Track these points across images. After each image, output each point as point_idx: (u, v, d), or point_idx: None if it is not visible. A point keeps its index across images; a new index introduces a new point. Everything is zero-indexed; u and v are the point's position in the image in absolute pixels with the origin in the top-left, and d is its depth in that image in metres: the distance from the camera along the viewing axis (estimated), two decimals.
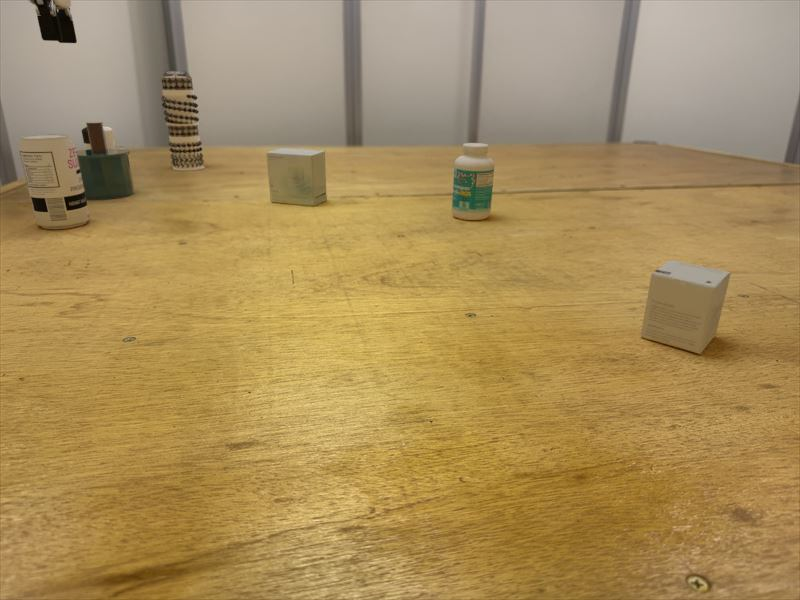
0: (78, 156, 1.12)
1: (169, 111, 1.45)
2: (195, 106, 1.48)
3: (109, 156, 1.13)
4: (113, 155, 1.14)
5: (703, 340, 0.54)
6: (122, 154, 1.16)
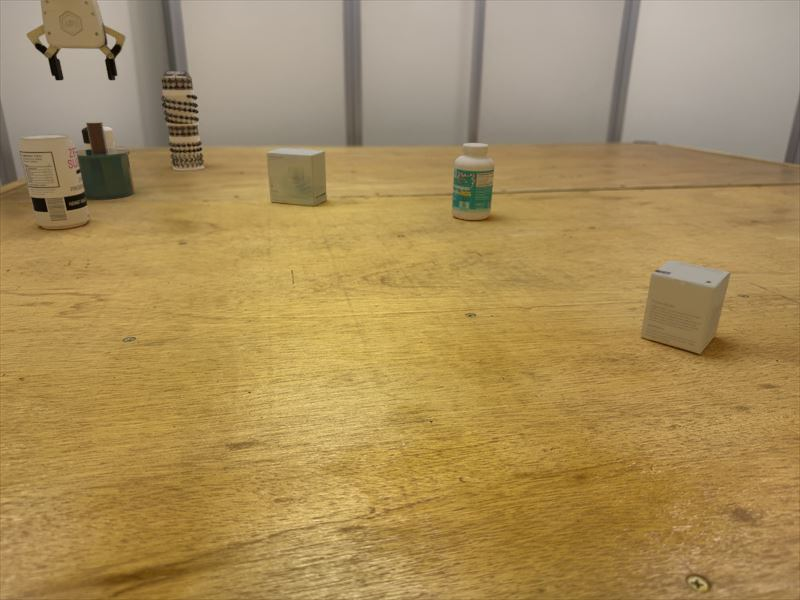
0: (78, 156, 1.12)
1: (169, 111, 1.45)
2: (195, 106, 1.48)
3: (109, 156, 1.13)
4: (113, 155, 1.14)
5: (703, 340, 0.54)
6: (122, 154, 1.16)
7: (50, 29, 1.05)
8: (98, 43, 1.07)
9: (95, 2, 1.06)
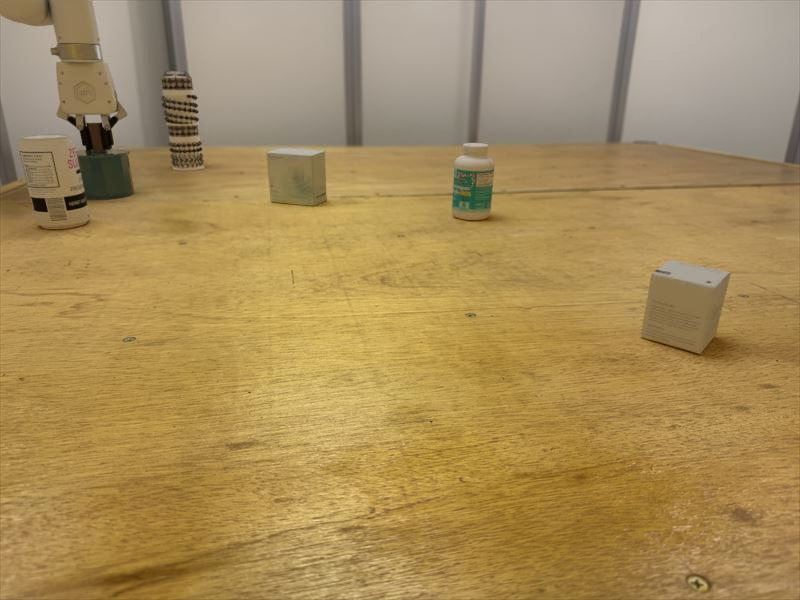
0: (78, 156, 1.12)
1: (169, 111, 1.45)
2: (195, 106, 1.48)
3: (109, 156, 1.13)
4: (113, 155, 1.14)
5: (703, 340, 0.54)
6: (122, 154, 1.16)
7: (65, 98, 1.10)
8: (110, 110, 1.12)
9: (108, 72, 1.11)
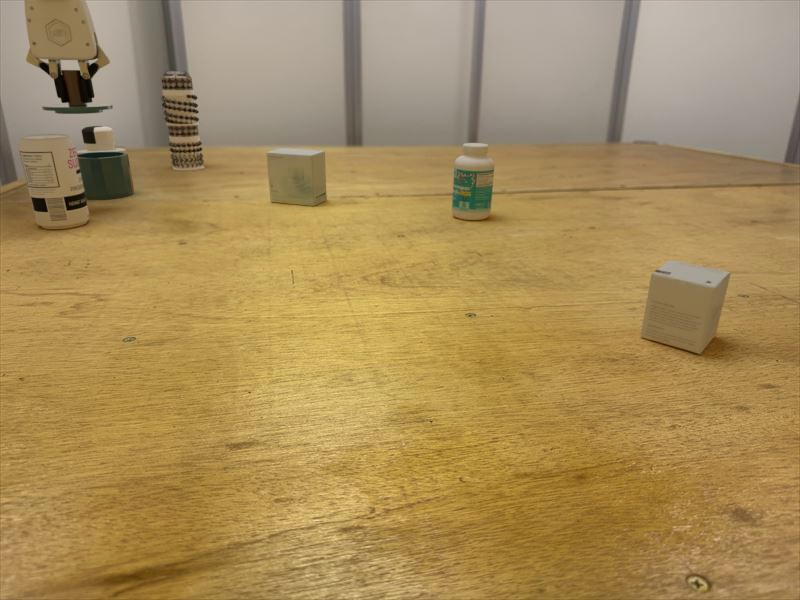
0: (52, 108, 0.96)
1: (169, 111, 1.45)
2: (195, 106, 1.48)
3: (88, 109, 0.97)
4: (93, 108, 0.98)
5: (703, 340, 0.54)
6: (104, 107, 1.00)
7: (35, 39, 0.94)
8: (89, 54, 0.96)
9: (86, 9, 0.95)
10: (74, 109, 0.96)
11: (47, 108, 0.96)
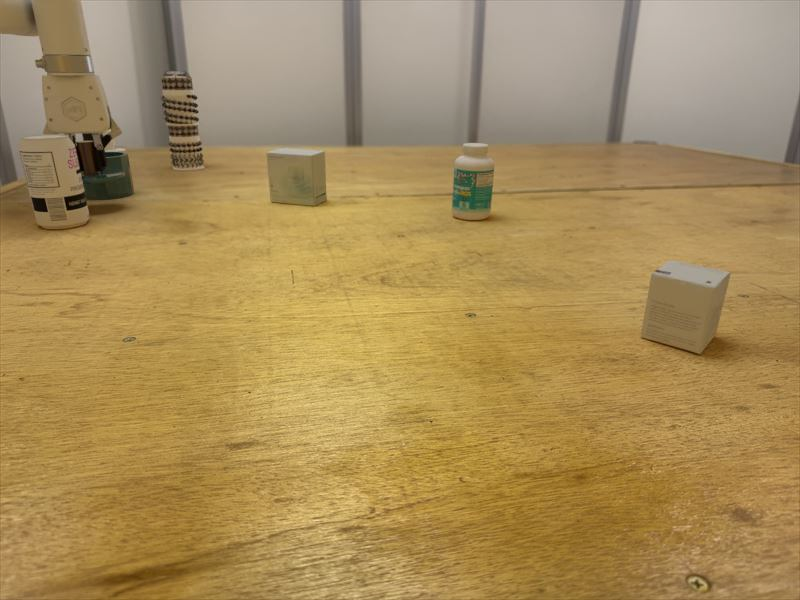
0: None
1: (169, 111, 1.45)
2: (195, 106, 1.48)
3: (102, 179, 1.02)
4: (106, 178, 1.03)
5: (703, 340, 0.54)
6: (116, 176, 1.04)
7: (52, 115, 0.98)
8: (103, 128, 1.01)
9: (100, 86, 1.00)
10: (88, 180, 1.01)
11: None
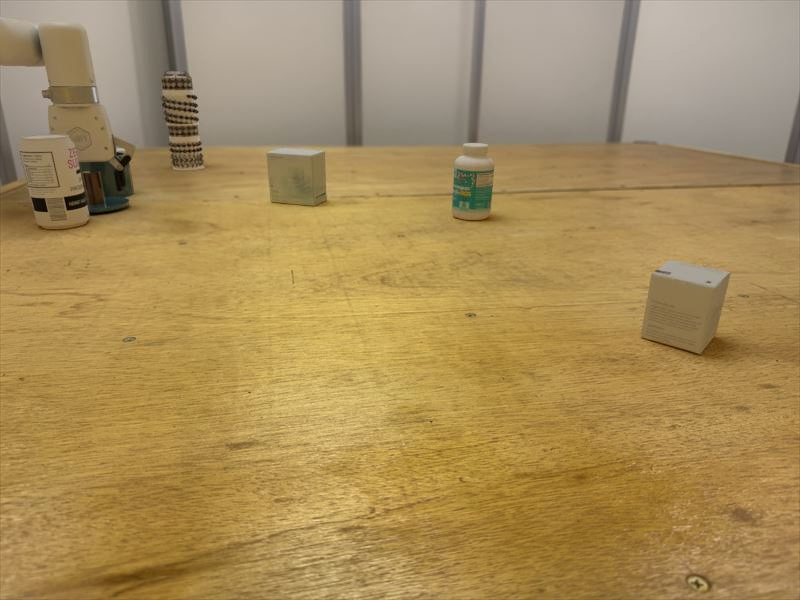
0: None
1: (169, 111, 1.45)
2: (195, 106, 1.48)
3: (107, 209, 1.04)
4: (112, 208, 1.05)
5: (703, 340, 0.54)
6: (121, 206, 1.07)
7: None
8: (107, 157, 1.03)
9: (105, 116, 1.02)
10: (94, 210, 1.03)
11: None
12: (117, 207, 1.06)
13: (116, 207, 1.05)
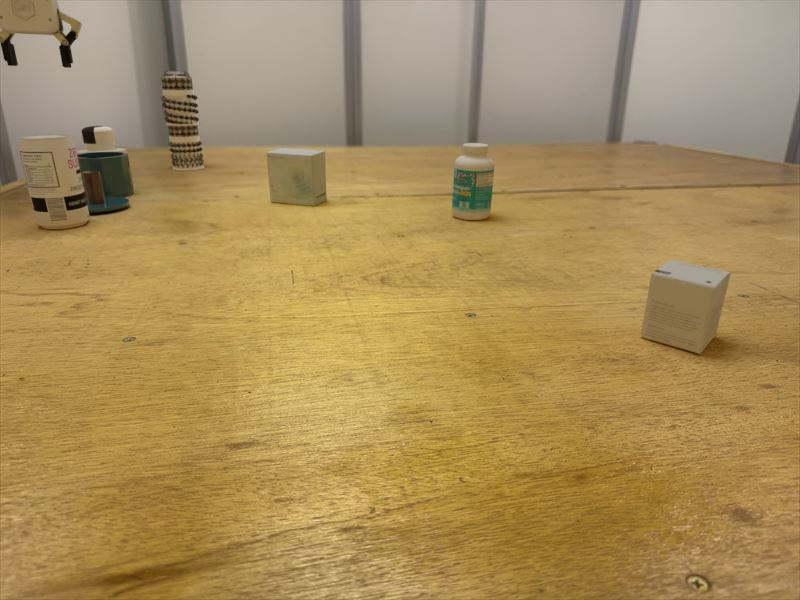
0: None
1: (169, 111, 1.45)
2: (195, 106, 1.48)
3: (107, 209, 1.04)
4: (112, 208, 1.05)
5: (703, 340, 0.54)
6: (121, 206, 1.07)
7: (2, 13, 1.03)
8: (51, 29, 1.05)
9: None
10: (94, 210, 1.03)
11: None
12: (117, 207, 1.06)
13: (116, 207, 1.05)
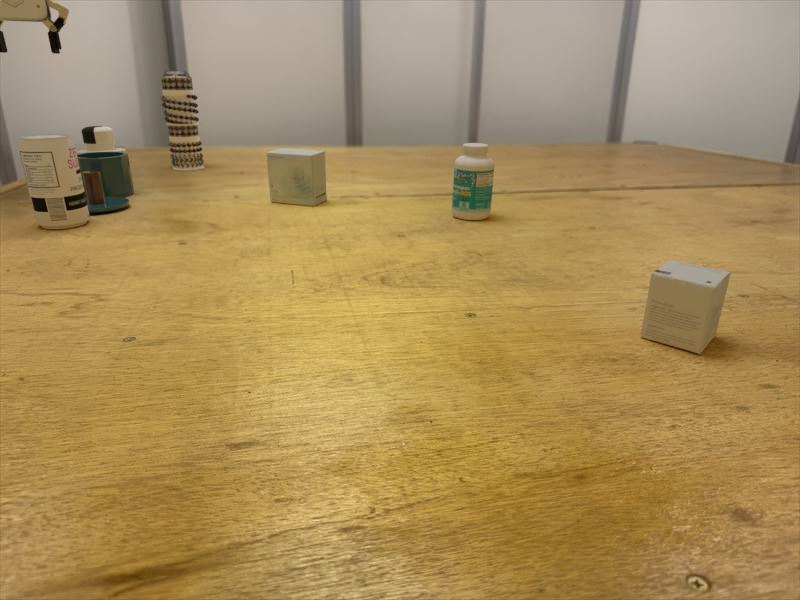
0: None
1: (169, 111, 1.45)
2: (195, 106, 1.48)
3: (107, 209, 1.04)
4: (112, 208, 1.05)
5: (703, 340, 0.54)
6: (121, 206, 1.07)
7: None
8: (40, 15, 1.09)
9: None
10: (94, 210, 1.03)
11: None
12: (117, 207, 1.06)
13: (116, 207, 1.05)
